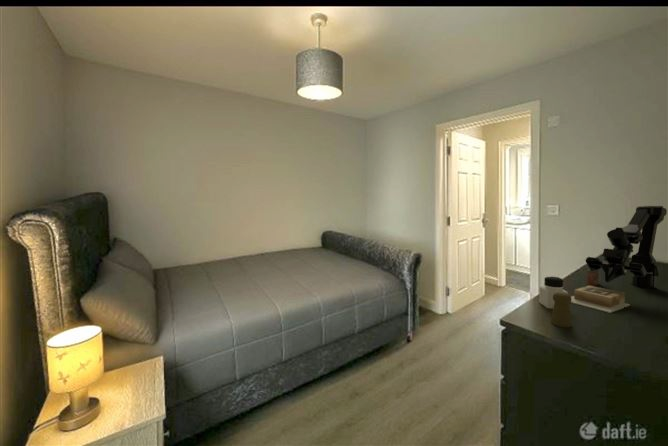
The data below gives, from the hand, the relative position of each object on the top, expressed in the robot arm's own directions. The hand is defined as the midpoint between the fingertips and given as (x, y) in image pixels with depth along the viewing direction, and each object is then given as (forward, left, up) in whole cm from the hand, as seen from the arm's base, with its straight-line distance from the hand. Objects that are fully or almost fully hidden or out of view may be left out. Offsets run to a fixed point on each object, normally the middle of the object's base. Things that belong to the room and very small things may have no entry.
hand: (606, 281), depth 124 cm
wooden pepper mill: (+31, +29, -8) cm, 43 cm away
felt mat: (+7, +5, -8) cm, 12 cm away
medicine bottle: (+25, +11, -8) cm, 29 cm away
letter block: (0, 0, -5) cm, 5 cm away
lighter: (-9, -23, -8) cm, 26 cm away
